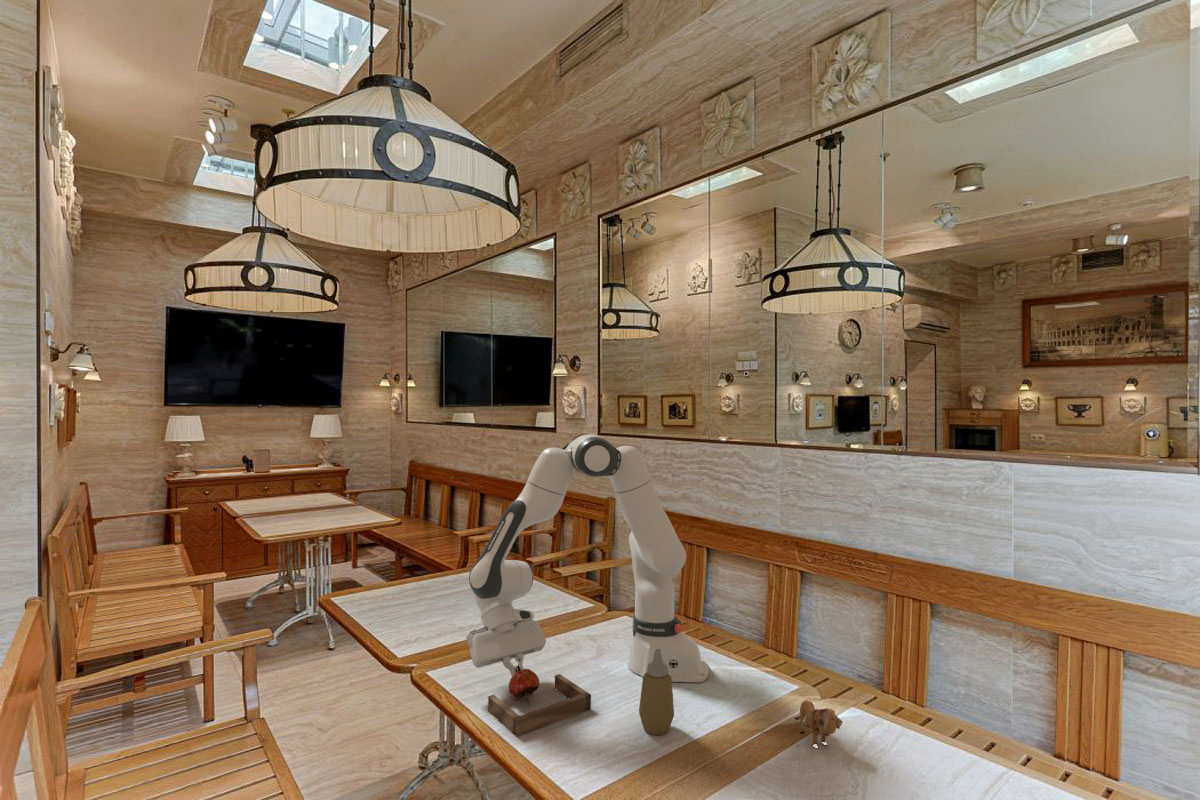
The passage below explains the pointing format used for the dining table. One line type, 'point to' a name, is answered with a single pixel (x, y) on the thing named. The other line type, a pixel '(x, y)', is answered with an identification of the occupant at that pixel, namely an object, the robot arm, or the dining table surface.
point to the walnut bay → (542, 709)
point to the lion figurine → (818, 720)
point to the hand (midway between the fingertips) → (518, 674)
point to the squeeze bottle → (656, 697)
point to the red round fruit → (523, 683)
